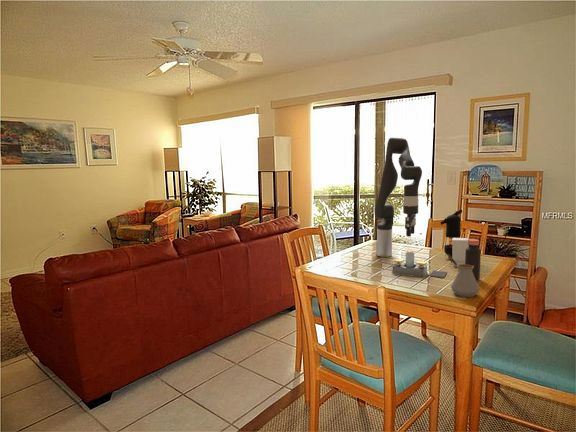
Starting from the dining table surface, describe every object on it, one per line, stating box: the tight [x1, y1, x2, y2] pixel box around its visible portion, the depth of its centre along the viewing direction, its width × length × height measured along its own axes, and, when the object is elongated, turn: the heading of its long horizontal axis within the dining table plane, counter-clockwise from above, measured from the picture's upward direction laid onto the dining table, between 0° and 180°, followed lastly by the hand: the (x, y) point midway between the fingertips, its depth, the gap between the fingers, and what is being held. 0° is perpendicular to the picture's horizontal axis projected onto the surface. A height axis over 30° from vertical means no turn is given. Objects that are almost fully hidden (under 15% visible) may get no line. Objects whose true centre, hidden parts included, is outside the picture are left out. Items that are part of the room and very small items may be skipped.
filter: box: [440, 209, 463, 257], centre depth 226 cm, size 14×9×30 cm
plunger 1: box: [393, 258, 404, 265], centre depth 203 cm, size 4×4×5 cm
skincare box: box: [451, 237, 469, 268], centre depth 211 cm, size 8×7×16 cm
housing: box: [391, 261, 428, 278], centre depth 201 cm, size 16×10×4 cm, turn 60°
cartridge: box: [405, 250, 415, 268], centre depth 200 cm, size 4×4×12 cm
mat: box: [429, 270, 448, 279], centre depth 196 cm, size 7×10×1 cm
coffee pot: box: [444, 253, 480, 298], centre depth 171 cm, size 21×12×15 cm, turn 7°
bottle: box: [465, 238, 482, 282], centre depth 186 cm, size 7×7×20 cm
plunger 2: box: [415, 260, 428, 268], centre depth 197 cm, size 4×4×5 cm
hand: (410, 235), depth 198 cm, fingers open, 8 cm apart
